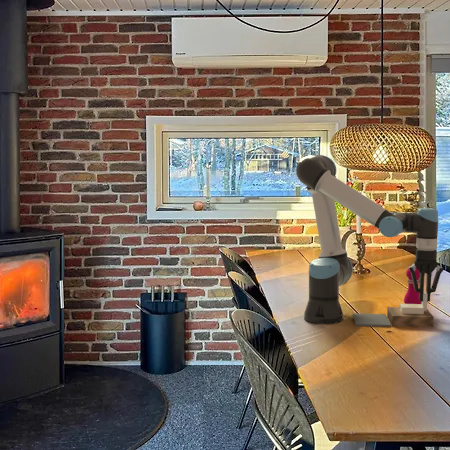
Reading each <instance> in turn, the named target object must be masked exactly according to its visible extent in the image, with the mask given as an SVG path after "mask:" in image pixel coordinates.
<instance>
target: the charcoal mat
mask: <svg viewBox="0 0 450 450" xmlns="http://www.w3.org/2000/svg"><path fill="white" fill-rule="evenodd" d="M352 319H353V322H354V326H355V327H374V328H375V327H378V328H380V327H381V328H392V325H391V323H390V321H389V319H388V317H387V314H385V313H355V312H352Z"/></svg>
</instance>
